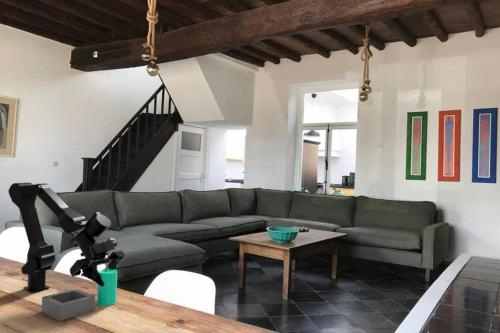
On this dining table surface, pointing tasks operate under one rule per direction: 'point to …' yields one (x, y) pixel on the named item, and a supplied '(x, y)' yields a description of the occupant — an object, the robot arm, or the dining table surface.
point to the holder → (68, 304)
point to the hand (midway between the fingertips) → (110, 283)
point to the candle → (107, 287)
